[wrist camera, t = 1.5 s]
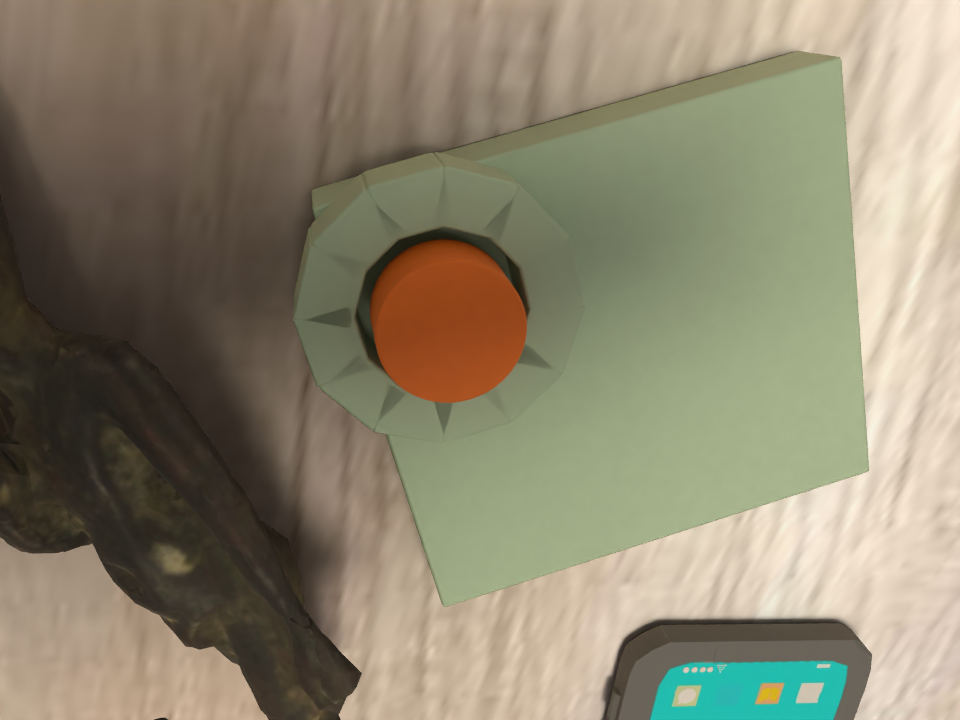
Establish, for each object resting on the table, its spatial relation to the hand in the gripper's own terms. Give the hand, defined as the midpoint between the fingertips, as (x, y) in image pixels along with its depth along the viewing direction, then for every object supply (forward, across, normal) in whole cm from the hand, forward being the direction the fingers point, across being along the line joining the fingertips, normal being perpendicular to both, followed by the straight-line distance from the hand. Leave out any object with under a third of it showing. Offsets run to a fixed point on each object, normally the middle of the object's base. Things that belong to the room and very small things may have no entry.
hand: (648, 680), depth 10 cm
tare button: (+11, +1, -1) cm, 11 cm away
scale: (+14, -3, +2) cm, 15 cm away
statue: (+10, +11, +1) cm, 15 cm away
